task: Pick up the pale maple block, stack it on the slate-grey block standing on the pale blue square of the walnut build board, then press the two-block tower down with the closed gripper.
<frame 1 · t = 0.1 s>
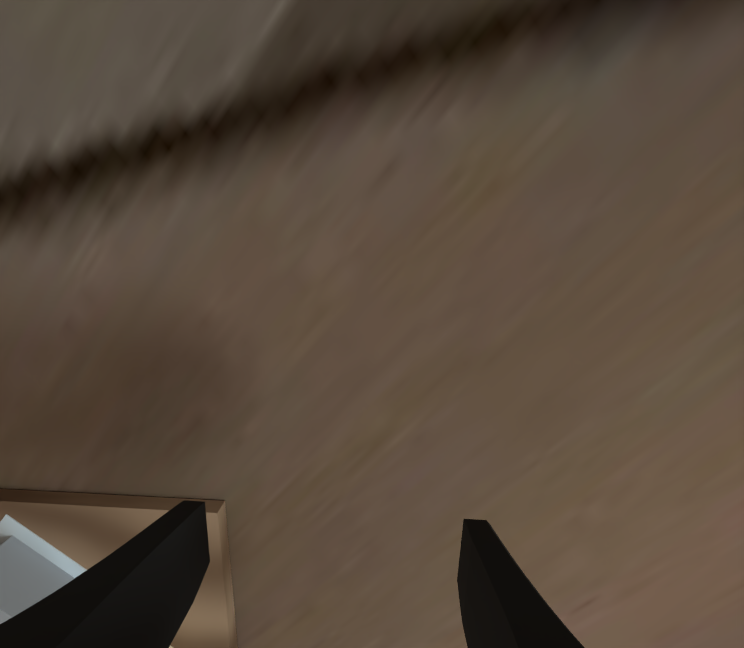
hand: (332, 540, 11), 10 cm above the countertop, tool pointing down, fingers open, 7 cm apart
grey base block: (31, 593, 24), point 1 cm above the countertop, touching build board
build board: (98, 613, 25), on the countertop
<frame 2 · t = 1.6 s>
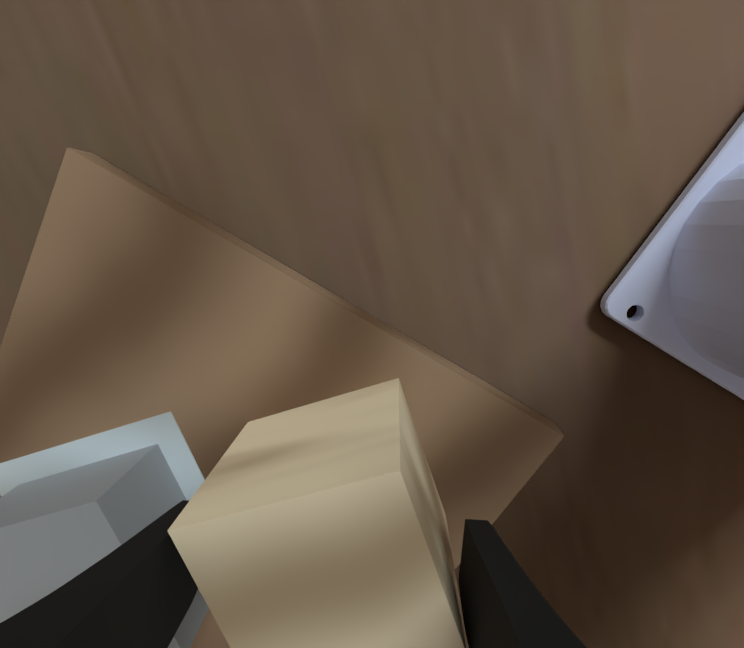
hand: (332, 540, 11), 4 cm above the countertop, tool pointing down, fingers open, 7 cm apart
grey base block: (124, 530, 15), point 1 cm above the countertop, touching build board
maple cube: (348, 468, 14), point 1 cm above the countertop, touching build board, gripper
build board: (225, 486, 16), on the countertop
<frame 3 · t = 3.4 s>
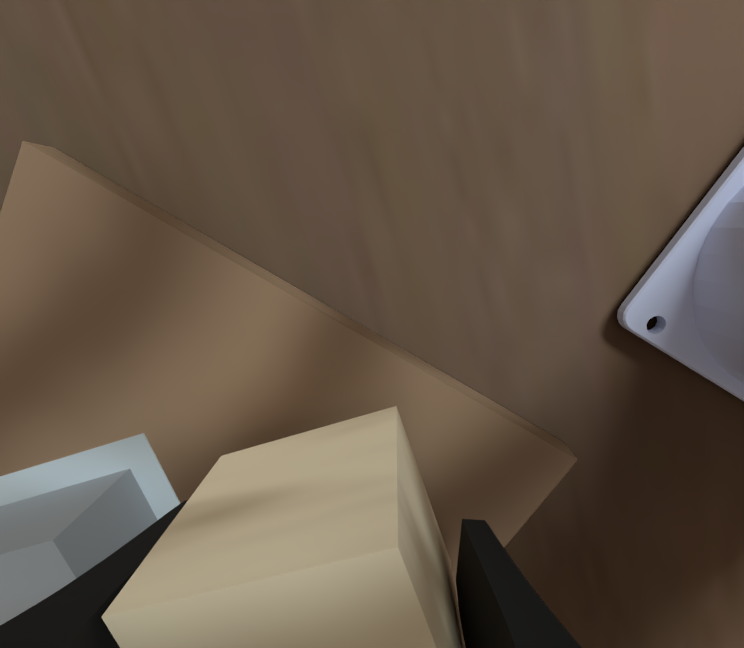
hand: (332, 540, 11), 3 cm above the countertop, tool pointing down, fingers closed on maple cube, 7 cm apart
grey base block: (94, 562, 14), point 1 cm above the countertop, touching build board
maple cube: (338, 509, 12), point 2 cm above the countertop, touching gripper
build board: (206, 512, 14), on the countertop
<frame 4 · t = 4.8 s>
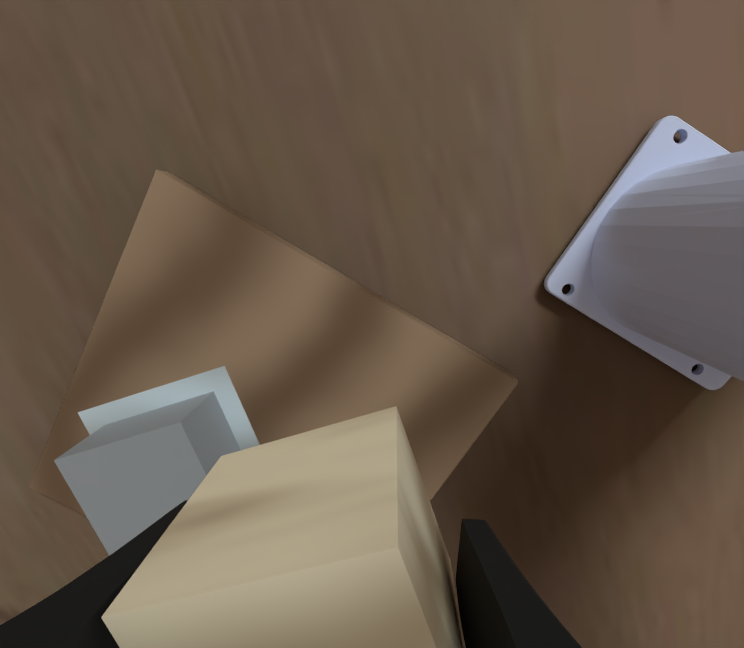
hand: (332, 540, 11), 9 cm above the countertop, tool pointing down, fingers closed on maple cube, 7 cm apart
grey base block: (184, 461, 20), point 1 cm above the countertop, touching build board
maple cube: (338, 509, 12), point 8 cm above the countertop, touching gripper
build board: (261, 428, 20), on the countertop
when the fingers open (6 cm above the countertop, at t = 7.7 s): maple cube drops 1 cm, resting on grey base block.
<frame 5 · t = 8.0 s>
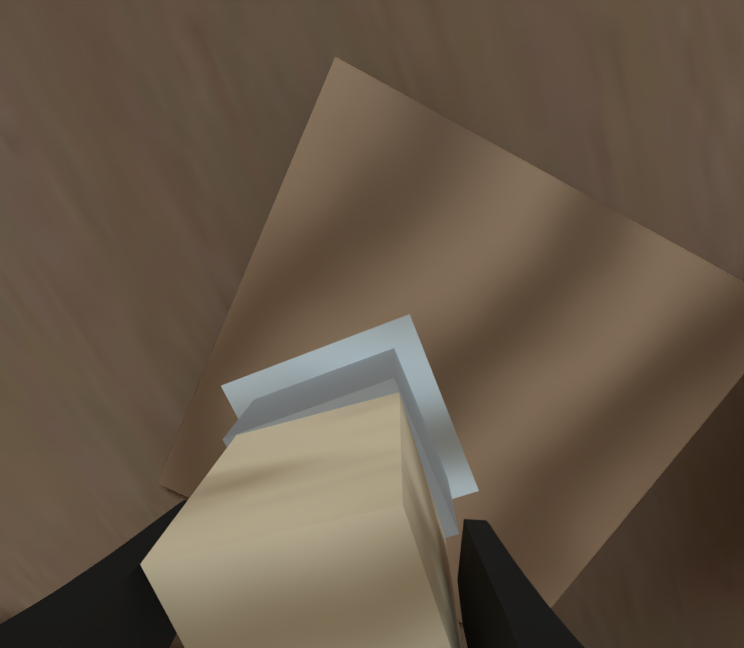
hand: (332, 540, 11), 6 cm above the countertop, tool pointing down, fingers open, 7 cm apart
grey base block: (352, 439, 16), point 1 cm above the countertop, touching build board, maple cube
maple cube: (342, 487, 13), point 4 cm above the countertop, touching grey base block
build board: (440, 395, 16), on the countertop
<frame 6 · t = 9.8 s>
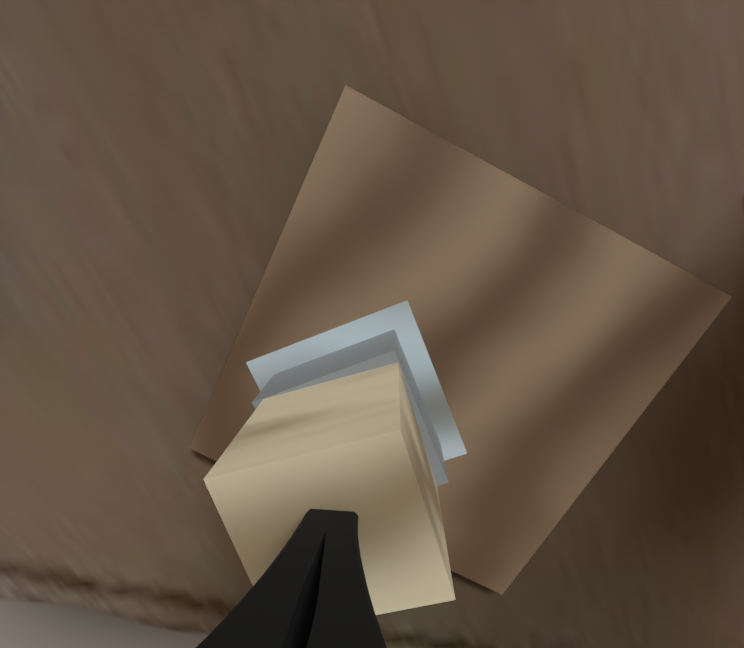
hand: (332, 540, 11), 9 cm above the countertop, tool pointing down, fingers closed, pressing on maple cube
grey base block: (358, 408, 19), point 1 cm above the countertop, touching build board, maple cube
maple cube: (351, 443, 16), point 4 cm above the countertop, touching grey base block, gripper
build board: (433, 371, 19), on the countertop
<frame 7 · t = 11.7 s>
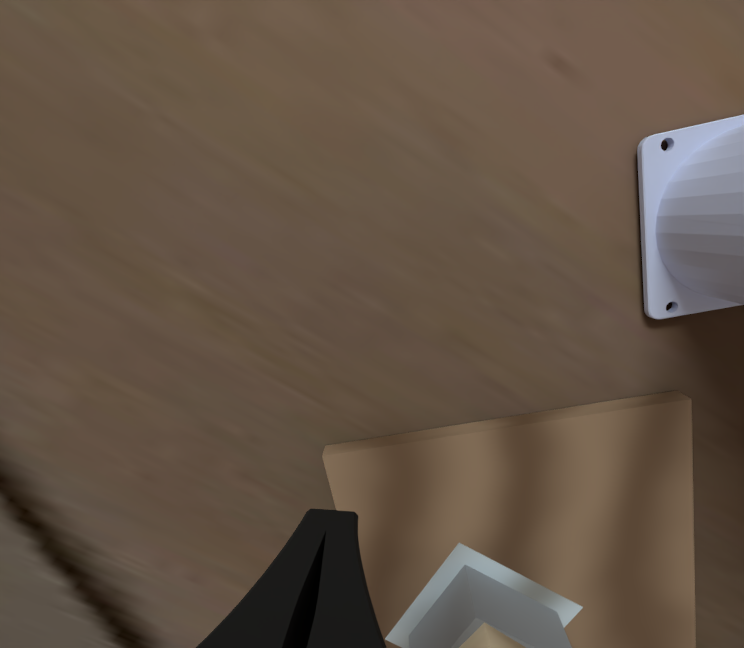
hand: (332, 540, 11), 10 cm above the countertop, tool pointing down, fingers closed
grey base block: (481, 623, 22), point 1 cm above the countertop, touching build board, maple cube
build board: (513, 560, 23), on the countertop
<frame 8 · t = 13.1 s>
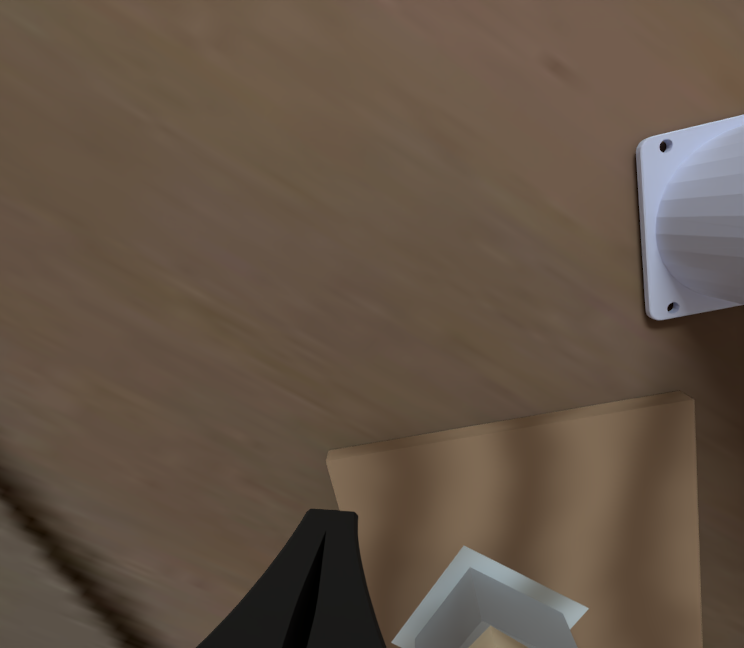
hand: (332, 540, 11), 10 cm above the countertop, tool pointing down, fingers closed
grey base block: (487, 626, 22), point 1 cm above the countertop, touching build board, maple cube
build board: (519, 562, 23), on the countertop
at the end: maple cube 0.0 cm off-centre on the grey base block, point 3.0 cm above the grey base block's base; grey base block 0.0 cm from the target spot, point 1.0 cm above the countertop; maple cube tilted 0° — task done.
